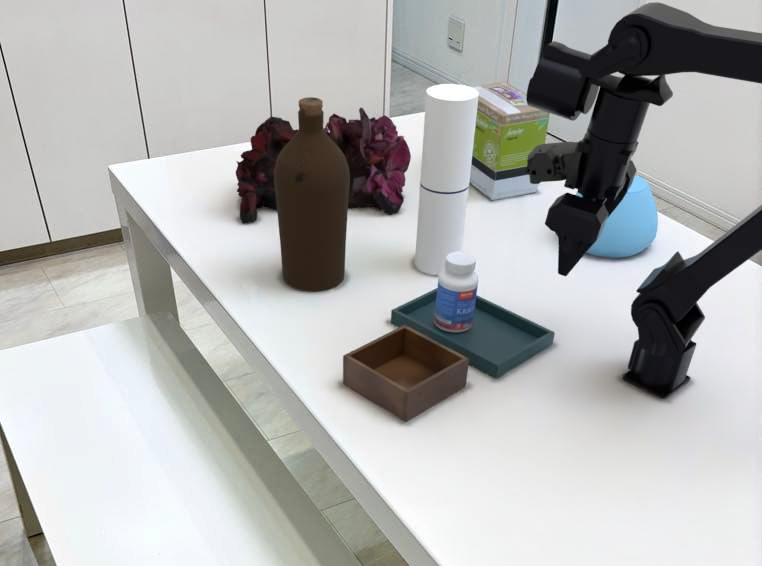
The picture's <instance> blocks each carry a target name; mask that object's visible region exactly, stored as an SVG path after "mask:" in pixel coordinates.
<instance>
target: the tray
mask: <svg viewBox="0 0 762 566" xmlns="http://www.w3.org/2000/svg"><path fill="white" fill-rule="evenodd" d="M437 288H438V287H435V288H434V289H432V290H429V291H428V292H426V293H424V294H421V295H420V296H417V297H415V298H414V299H411V300H409V301H407V302H405V303H403V304H401V305H399V306H397V307H395V308H393V309H391V311H390V313H391V314H390V324H393V325H394V326H396V327H397V328H399V327H401V326H403V325H406V326H408V327H410V328H412V329H414V330H416V331H418V332H420V333H421V334H423V335H425V336H427V337H429V338H431V339H433V340H435V341H437V342H439V343H440V344H442V345H444V346H446V347H448V348H450V349H452V350H454V351H456V352H458V353H459V354H461V355H463V356H465V357H467V358H469V365H470V366H471V367H473V368H475V369H477V370H479V371H481V372H482V373H485V374H487V375H488V376H491V377H492V378H494V379H498V378H500V377H502V376H503V375H505V374H507V373H509V372H510V371H512V370H513V369H515V368H517V367H518V366H520V365H521V364H523V363H525V362H527V361H528V360H530V359H532V358H534V357H535V356H537V355H538V354H540V353H542V352H543V351H545V350H548V349H549V348H550V347H552V346H553V345H554V341H555V334H556V332H555V331H553V330H551V329H549V328H547V327H545V326H542V325H540V324H538V323H536V322H534V321H532V320H530V319H527V318H525V317H523V316H522V315H519V314H517V313H516V312H514V311H511V310H510V309H507V308H505V307H503V306H501V305H498V304H496V303H495V302H493V301H490V300H488V299H486V298H484V297H482V296H480V295H477V294H476V301H475V309H474V316H473V323H472V326H471V327H470V329H468V330H466V331H464V332H458V333H451V332H446V331H443V330H441V329H439V328H438V327H437V326H436V325H435V322H434V316H435V307H436V297H437Z"/></svg>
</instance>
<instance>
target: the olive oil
mask: <svg viewBox="0 0 762 566" xmlns="http://www.w3.org/2000/svg"><path fill="white" fill-rule="evenodd" d="M323 104H324V103H323V100H322V99H321V98H318V97H313V96H309V97H302V98H300V99H299V100H298V108H299V109H298V111H297V116H298V132H297V133H296V134H295V136H294V137H293V138H292V139H291V140H290V141H289V142H288V143H287V145H286V146H285V147H284V148H283V149H282V151H281V152H280V154H279V155H278V158H277V161H276V164H275V169H274V184H275V194H276V203H277V210H276V211H277V224H278V233H279V245H280V246H279V247H280V258H281V260H280V261H281V270H282V271H281V272H282V279H283V282H285V283H286V284H287V285H289V287H292V288H293V289H295V290H296V289H297V290H300V291H306V292H320V291H326V290H330V289H333V288H336V287H338V286H339V285H340V284H341V283H342V282H343V281H344V280H345V273H346V271H345V270H346V249H347V248H346V246H347V230H348V211H349V209H348V198H349V184H350V172H349V167H348V164H347V160H346V158H345V156H344V154H343V152H342V151H341V150H340V148H339V147H338V146H337V145H336V144H335V143H334V142H333V141H332V140H331V139H330V137H329V136H328V135H327V134H326V133H325V131H324V113H325V112H324V111H323V106H324V105H323Z"/></svg>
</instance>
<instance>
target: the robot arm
mask: <svg viewBox="0 0 762 566" xmlns="http://www.w3.org/2000/svg"><path fill="white" fill-rule="evenodd" d="M615 73H618V74H621V75H623V76H617V75H613V74H615ZM682 73H696V74H697V73H698V74H703V75H709V76H713V77H714V76H715V77H721V78H725V79H726V78H727V79H733V80H737V81H744V82H749V83H754V84H761V85H762V32H757V31H749V30H745V29H736V28H730V27H724V26H717V25H713V24H710V23H708V22H704V21H702V20H701V19H699V18H697V17H696V16H694V15H692V14H691V13H689V12H687V11H685V10H681V9H679V8H677V7H674V6H671V5H668V4H665V3H663V2H657V1H656V2H648V3H644V4H643V5H641V6H639V7H637V8H636V9H634V10H633V11H631V12H629V13H628V14H626V15H624V16H622V18H620V19H619V20H618V21H617V22H616V23H615V25H614V26H613V27H612V29H611V30H610V33H609V36H608V39H607V44H606V45H604V46H603V47H602V48H600V49H598V50H597V51H595V52H593V53H592V54H590V53H587V52H584V51H581V50H577V49H574V48H571V47H569V46H567V45H566V44H564V43H562V42H559V41H555V40H553V41H551V42H550V43H548V44H547V45H545V47H544V51H543V55H542V56H541V58H540V59H539V61H538V63H537V65H536V67H535V70H534V72H533V75H532V77H530V79H529V81H528V85H527V90H526V94H527V97H526V99H527V104H528V105H529V106H531V107H534V108H536V109H539V110H542V111H545V112H548V113H550V115H554V116H556V117H560V118H563V119H566V120H569V121H572V122H573V121H576V120H577V119H578V118H579V116H580V115H581V114H583V115H587V114H588V113H589V112H590V111H591V109H592V107H593V109H592V113H591V116H590V119H589V123H588V126H587V129H586V132H585V134H584V135H583V138H582V139H581V140H580V139H579V141H563V142H550V143H549V142H548V143H545V144H541V145H538V146H536V147H535V148H534V149H533V150H532V151H531V152H530V154H529V155H528V159H527V167H526V168H525V173H526V174H528V175H529V177H530V183H531V184H538V185H539V184H541V183H546V182H547V183H548V182H561V181H565V182H564V185H563V187H564V188H567V189H571V190H575V189H576V193H577V192H578V193H579V194H581V195H582V197H580V196H577V195H575V193H574V194H573V193H571V192H565V193H564V194H561V195H560V196H558V197H557V198H556V199H555V200H554V201H553V203H552V204H551V206H550V207H549V208H548V210H547V215H546V217H545V221H544V225H545V226H546V227H547V228H548V229H549V230H550V231H551V232H553V233H555V235H556V236H557V238H558V240H557V241H558V242H557V243H558V252H557V253H558V255H557V274H558V275H560V276H562V277H567V276H568V275H569V274H570V272H571V271H572V270H573V269H574V268H575V266H576V265H577V264H578V263H579V262H580V260H581V259H582V258H583V257H584V256H585V255H586V254H587V253H586V252H587V251H588V250H589V249H590V248H591V246H592V245H593V244H594V243H595V242H596V241H597V239H598V238H599V236H600V235H601V233H602V230H603V228H604V226H605V223H606V220H607V219H608V217H609V216H610V215H611V214H612V212H613V211H614V210H615V209H616V207H617V206H618V205H619V203H620V202H621V201H622V200H623V198H624V197H625V195H626V193H627V192H628V190H629V188H630V186H631V185H632V182H633V180H634V177H635V175H637V174H636V173H637V168H636V166H635V163H634V161H633V160H632V157H633V156H634V154H636V152H637V149H638V146H639V141H638V139H639V136H640V134H641V131H642V127H643V125H644V122H645V118H646V116H647V114H648V110H649V106H650V104H651V105H654V106H657V107H662V106H663V105H665V104H666V103H667V102H668V101H669V100H670V99H672V98H673V96H674V92H673V91H672V89H671V87H670V85H669V84H668V82H667V79H666V75H673V74H682ZM655 76H656V77H655ZM648 77H654V78H648ZM593 105H594V106H593ZM761 251H762V204H760V205H759V206H758V207H757V208H755V209H754V210H752V211H751V212H749V214H748V215H747V216H745V217H744V218H743V219H741V220H740V221H738V222H737V223H736V224H735V225H733V226H732V227H731V228H729V230H727V231H726V232H725V233H724V234H722V235H721V236H719V237H718V238H717V239H715V241H713V242H712V243H711V244H709V245H708V246H706V247H705V248H704V249H702V250H701V251H700V252H699V253H697V254H695V255H694V256H691V257H688V258H685V259H684V258H683V256H682V254H681V253H680V251H677V250H676V252H674V254H673V255H672V256H671V257H670V259H669V260H668V261H667V262H665V263H664V264H663V265H661V266H658V267H655V268H653V270H652V271H651V272H650V273H649V275H648V276H647V277H646V278H645V279H644V281H643V282H642V283H641V284H640V285H639V287H638V288H637V289H636V291H635V292H636V293H639V294H638V295H637V296H636V297H635V298H634V300H632V303H631V305H630V315H631V319H632V322H633V323H634V325H635V326H636V328H637V335H638V339H636V340H635V341H634V342H633V346H632V348H631V353H630V356H629V360H628V364H627V371H626V372H625V373H623V374H622V378H621V379H622V380H623V381H625V382H627V383H629V384H631V385H633V386H635V387H637V388H640V389H641V390H643V391H646V392H647V393H650V394H652V395H654V396H656V397H657V398H660V399H663V400H664V399H667V398H669V397H671V395H673V394H674V393H676V392H677V391H679V390H680V389H682V388H683V387H684V386H685V385H687V384H688V383H689V382H690V381H691V377H690V375H687V374H688V371H689V368H690V365H691V362H692V360H693V356H694V354H695V350H696V348H697V342H695V341H693V340H692V338H693V337H694V336H695V334H696V332H697V331H699V328H700V327H701V325H702V324H703V323H704V321H705V319H706V315H705V314H704V312H703V311H702V309H701V307H700V306H699V304H698V302H699V300H700V299H701V298H702V297H703V296H704V295H705V294H706V293H707V291H708V290H710V289H711V288H712V287H713V286H714V285H716V284H717V283H719V282H720V281H721V280H722V279H724V278H725V277H726V276H728V275H729V274H731V273H732V272H733V271H735V270H736V269H737V268H739V267H740V266H742V265H743V264H744V263H746V262H747V261H748V260H750V259H751V258H753V257H754V256H755V255H756V254H758V253H759V252H761Z"/></svg>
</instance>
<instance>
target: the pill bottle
mask: <svg viewBox="0 0 762 566" xmlns="http://www.w3.org/2000/svg"><path fill="white" fill-rule="evenodd" d="M476 263H477V258H476V257H475V255H473V254H471V253H469V252H465V251H462V252H453V253H450V254H448V255H447V256H446V262H445V269H444V270H442V271H441V273H440V274H439V275H438V279H437V287H436V288H437V297H436V307H435V316H434V322H435V325H436V326H437V327H438V328H439V329H441V330H443V331H446V332H451V333H458V332H464V331H466V330H468V329H470V327H471V326H472V323H473V316H474V309H475V301H476V295H477V293H478V286H479V275H477V273H476V271H475V270H476Z"/></svg>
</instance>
